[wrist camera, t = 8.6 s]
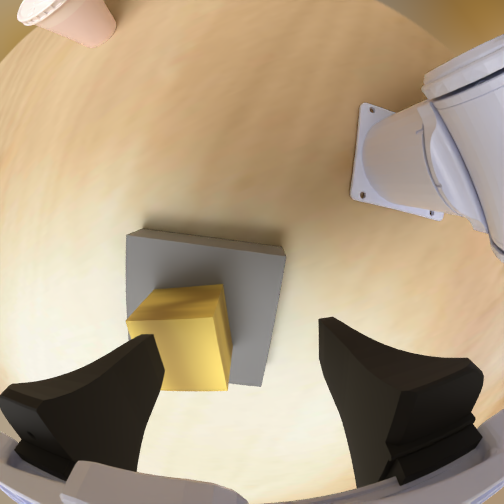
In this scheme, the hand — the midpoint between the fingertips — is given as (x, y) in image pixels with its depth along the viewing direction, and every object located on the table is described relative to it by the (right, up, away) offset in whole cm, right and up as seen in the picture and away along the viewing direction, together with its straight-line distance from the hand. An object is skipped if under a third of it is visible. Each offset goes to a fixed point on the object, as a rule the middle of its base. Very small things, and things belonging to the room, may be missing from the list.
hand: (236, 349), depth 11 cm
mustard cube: (-4, -1, +8) cm, 9 cm away
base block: (-3, 0, +11) cm, 12 cm away
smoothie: (-14, +25, +5) cm, 29 cm away
